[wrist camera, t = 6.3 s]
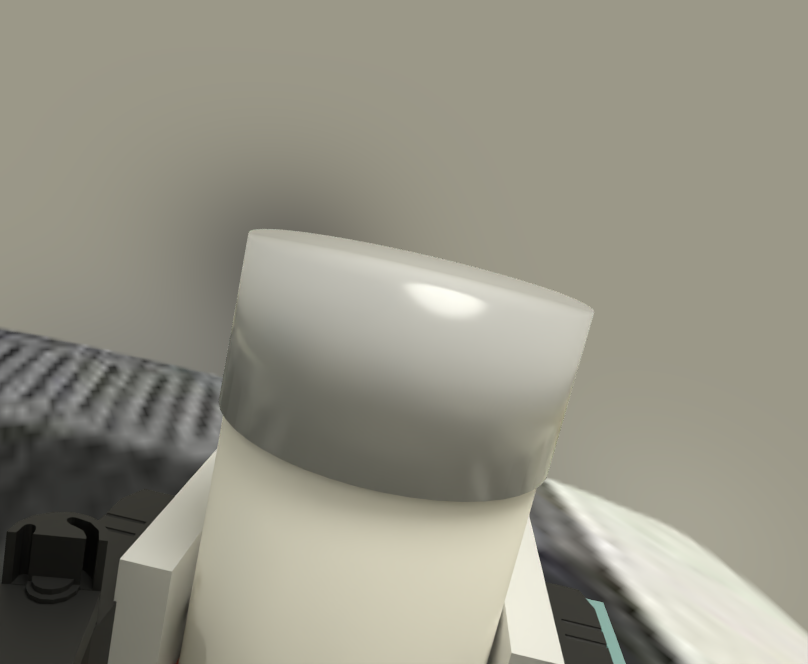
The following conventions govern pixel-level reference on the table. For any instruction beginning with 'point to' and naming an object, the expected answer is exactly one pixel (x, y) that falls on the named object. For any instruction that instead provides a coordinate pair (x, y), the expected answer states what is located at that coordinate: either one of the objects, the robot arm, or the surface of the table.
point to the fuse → (375, 454)
